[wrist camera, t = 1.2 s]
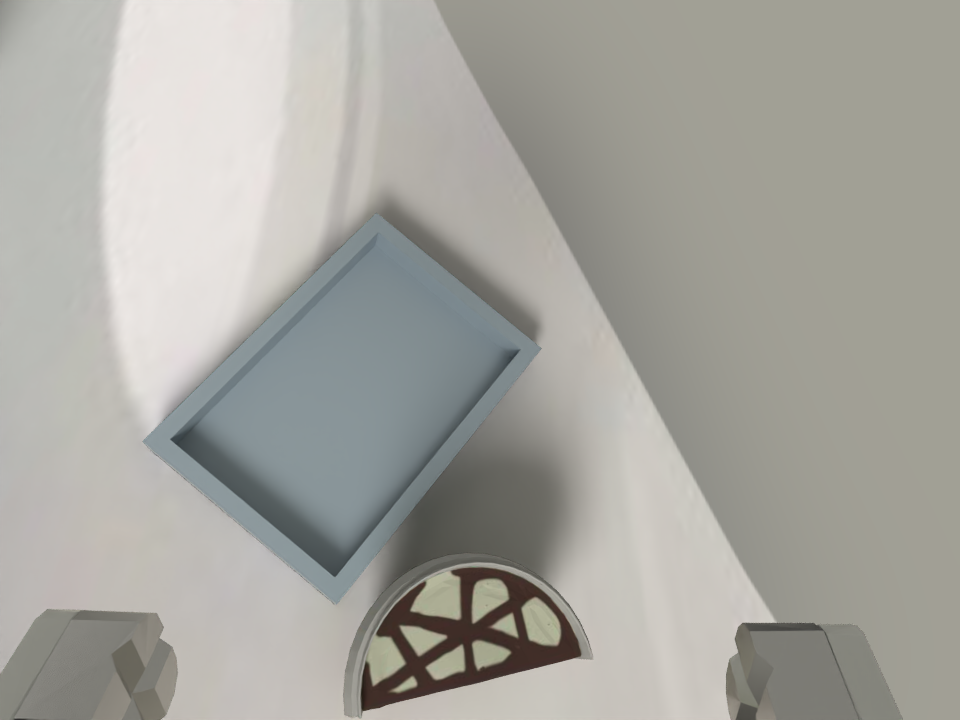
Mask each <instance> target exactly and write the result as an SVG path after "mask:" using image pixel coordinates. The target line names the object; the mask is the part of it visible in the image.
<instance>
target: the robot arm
mask: <svg viewBox="0 0 960 720" xmlns="http://www.w3.org/2000/svg"><path fill="white" fill-rule="evenodd" d="M163 628H164V627H163V625H162V623H161V620H160V618H159V616H158V614H157V613H145V612H117V611H89V610H61V609H47V610H46V611H45V612H44V613H42V614H41V615H40V616H39V617H37V618H36V619H35V621H34V622H33V624H32V625H31V627H30V628H29V630H28V632H27V633H26V635H25V636H24V638H23V639H22V641H21V643H20V644H19V646H18V647H17V649H16V650H15V652H14V654H13V655H12V657H11V658H10V660H9V661H8V663H7V665H6V666H5V668H4V669H3V671H2V673H1V674H0V720H161V719H162V718H163V717H164V716H165V715H166V714H167V712H168V709H169V706H170V704H171V701H172V699H173V696H174V693H175V687H176V681H177V675H178V669H177V659H176V656H175V653H174V650H173V648H172V647H171V646H170V645H169V644H167V643H166V642H164V641H163V640H161V639H160V638H159V637H160V635H161V633H162V631H163ZM735 641H736V645H737V649H738V653H737V654H736V655H734V656H733V657H732V658H730V659H729V663H728V668H727V673H726V696H727V703H728V710H729V714H730V719H731V720H903V718H902V716H901V714H900V712H899V709H898V707H897V705H896V703H895V701H894V699H893V696H892V694H891V692H890V690H889V687H888V685H887V683H886V681H885V678H884V676H883V674H882V672H881V670H880V668H879V665H878V663H877V661H876V659H875V656H874V654H873V652H872V650H871V648H870V645H869V643H868V641H867V639H866V636H865V634H864V633H863V631H862V630H860V628H859V627H858V626H856V625H851V624H847V625H846V624H845V625H844V624H843V625H841V624H840V625H839V624H838V625H836V624H835V625H816V624H814V623H742V624H741V625H740V626H739V627H738V630H737V633H736V637H735Z"/></svg>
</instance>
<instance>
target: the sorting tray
mask: <svg viewBox="0 0 960 720" xmlns="http://www.w3.org/2000/svg"><path fill="white" fill-rule="evenodd" d="M541 349H542V348H540V347H539V346H538V345H537V344H536V343H534V342H533V341H532V340H531V339H530V338H528V337H527V336H526V335H525V334H523V333H522V332H521V331H520V330H519V329H517V328H516V327H515V326H514V325H512V324H511V323H510V322H509V321H508V320H506V319H505V318H504V317H503V316H502V315H500V314H499V313H498V312H497V311H495V310H494V309H493V308H492V307H491V306H489V305H488V304H487V303H486V302H485V301H483V300H482V299H481V298H480V297H478V296H477V295H476V294H475V293H474V292H472V291H471V290H470V289H469V288H467V287H466V286H465V285H464V284H463V283H461V282H460V281H459V280H458V279H457V278H455V277H454V276H453V275H452V274H450V273H449V272H448V271H447V270H446V269H444V268H443V267H442V266H441V265H440V264H438V263H437V262H436V261H435V260H433V259H432V258H431V257H430V256H429V255H427V254H426V253H425V252H424V251H422V250H421V249H420V248H419V247H418V246H416V245H415V244H414V243H413V242H412V241H410V240H409V239H408V238H407V237H405V236H404V235H403V234H402V233H401V232H399V231H398V230H397V229H396V228H395V227H393V226H392V225H391V224H390V223H388V222H387V221H386V220H385V219H384V218H382V217H381V216H380V215H379V214H377V213H376V214H375V215H374V216H372V217H371V218H370V219H369V220H368V221H367V222H366V223H365V224H364V225H363V226H362V227H361V228H360V229H359V230H358V231H357V232H356V233H355V234H354V235H353V236H352V237H351V238H350V239H349V240H348V241H347V242H346V243H345V244H344V245H343V246H342V247H341V248H340V249H339V250H338V251H337V252H336V253H335V254H334V255H333V256H332V257H331V258H330V259H328V260H327V261H326V262H325V263H324V264H323V265H322V266H321V267H320V268H319V269H318V270H317V271H316V272H315V273H314V274H313V275H312V276H311V277H310V278H309V279H308V280H307V281H306V282H305V283H304V284H303V285H302V286H301V287H300V288H299V289H298V290H297V291H296V292H295V293H294V294H293V295H292V296H291V297H290V298H289V299H288V300H287V301H286V302H285V303H283V304H282V305H281V306H280V307H279V308H278V309H277V310H276V311H275V312H274V313H273V314H272V315H271V316H270V317H269V318H268V319H267V320H266V321H265V322H264V323H263V324H262V325H261V326H260V327H259V328H258V329H257V330H256V331H255V332H254V333H253V334H252V335H251V336H250V337H249V338H248V339H247V340H246V341H245V342H244V343H243V344H242V345H241V346H239V347H238V348H237V349H236V350H235V351H234V352H233V353H232V354H231V355H230V356H229V357H228V358H227V359H226V360H225V361H224V362H223V363H222V364H221V365H220V366H219V367H218V368H217V369H216V370H215V371H214V372H213V373H212V374H211V375H210V376H209V377H208V378H207V379H206V380H205V381H204V382H203V383H202V384H201V385H200V386H199V387H198V388H197V389H195V390H194V391H193V392H192V393H191V394H190V395H189V396H188V397H187V398H186V399H185V400H184V401H183V402H182V403H181V404H180V405H179V406H178V407H177V408H176V409H175V410H174V411H173V412H172V413H171V414H170V415H169V416H168V417H167V418H166V419H165V420H164V421H163V422H162V423H161V424H160V425H159V426H158V427H157V428H156V429H155V430H154V431H153V432H151V433H150V434H149V435H148V436H147V437H146V438H145V439H144V440H143V443H144V444H145V445H146V446H147V447H148V448H149V449H150V450H151V451H152V452H153V453H154V454H156V455H157V456H158V457H159V458H160V459H161V460H163V461H164V462H165V463H166V464H167V465H169V466H170V467H171V468H172V469H173V470H175V471H176V472H177V473H178V474H179V475H181V476H182V477H183V478H184V479H185V480H187V481H188V482H189V483H190V484H191V485H193V486H194V487H195V488H196V489H197V490H199V491H200V492H201V493H202V494H203V495H204V496H206V497H207V498H208V499H209V500H210V501H212V502H213V503H214V504H215V505H216V506H218V507H219V508H220V509H221V510H222V511H224V512H225V513H226V514H227V515H228V516H230V517H231V518H232V519H233V520H234V521H236V522H237V523H238V524H239V525H240V526H241V527H243V528H244V529H245V530H246V531H247V532H249V533H250V534H251V535H252V536H253V537H255V538H256V539H257V540H258V541H259V542H261V543H262V544H263V545H264V546H265V547H267V548H268V549H269V550H270V551H271V552H273V553H274V554H275V555H276V556H277V557H279V558H280V559H281V560H282V561H283V562H284V563H286V564H287V565H288V566H289V567H290V568H292V569H293V570H294V571H295V572H296V573H298V574H299V575H300V576H301V577H302V578H304V579H305V580H306V581H307V582H308V583H310V584H311V585H312V586H313V587H314V588H316V589H317V590H318V591H319V592H320V593H322V594H323V595H324V596H325V597H326V598H327V599H329V600H330V601H331V602H332V603H333V604H337V603H338V602H339V601H340V600H341V598H342V597H343V596H344V595H345V593H346V592H347V591H348V590H349V588H350V587H351V586H352V585H353V583H354V582H355V581H356V580H357V578H358V577H359V576H360V575H361V573H362V572H363V571H364V570H365V568H366V567H367V566H368V565H369V563H370V562H371V561H372V560H373V558H374V557H375V556H376V555H377V553H378V552H379V551H380V550H381V548H382V547H383V546H384V545H385V543H386V542H387V541H388V540H389V538H390V537H391V536H392V535H393V533H394V532H395V531H396V530H397V528H398V527H399V526H400V525H401V523H402V522H403V521H404V520H405V518H406V517H407V516H408V515H409V513H410V512H411V511H412V510H413V508H414V507H415V506H416V505H417V503H418V502H419V501H420V500H421V498H422V497H423V496H424V495H425V494H426V492H427V491H428V490H429V489H430V487H431V486H432V485H433V484H434V482H435V481H436V480H437V479H438V477H439V476H440V475H441V474H442V472H443V471H444V470H445V469H446V467H447V466H448V465H449V464H450V462H451V461H452V460H453V459H454V457H455V456H456V455H457V454H458V452H459V451H460V450H461V449H462V447H463V446H464V445H465V444H466V442H467V441H468V440H469V439H470V437H471V436H472V435H473V434H474V432H475V431H476V430H477V429H478V427H479V426H480V425H481V424H482V422H483V421H484V420H485V419H486V417H487V416H488V415H489V414H490V412H491V411H492V410H493V409H494V407H495V406H496V405H497V404H498V402H499V401H500V400H501V399H502V397H503V396H504V395H505V394H506V392H507V391H508V390H509V389H510V387H511V386H512V385H513V384H514V382H515V381H516V380H517V379H518V377H519V376H520V375H521V374H522V372H523V371H524V370H525V369H526V367H527V366H528V365H529V364H530V362H531V361H532V360H533V359H534V357H535V356H536V355H537V354H538V352H539V351H540V350H541Z"/></svg>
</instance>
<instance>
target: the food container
mask: <svg viewBox="0 0 960 720" xmlns="http://www.w3.org/2000/svg"><path fill="white" fill-rule="evenodd" d="M573 658H577V659H591V660H592V659H593V654H592V651H591V648H590V644H589V641H588V638H587V636H586V634H585V632H584V629H583V627H582V625H581V623H580V621H579V619H578V618H577V616H576V615H575V613H574V611H573V610H572V608H571V607H570V605H569V604H568V603H567V602H566V601H565V599H564V598H563V597H562V596H561V595H560V594H559V592H558V591H557V590H556V589H554V588H553V587H552V586H551V585H550V584H549V583H547V582H546V581H545V580H544V579H543V578H541V577H540V576H538V575H537V574H535V573H534V572H532V571H530V570H529V569H527V568H525V567H524V566H522V565H520V564H518V563H515V562H513V561H510V560H508V559H505V558H502V557H498V556H493V555H489V554H481V553H461V554H452V555H447V556H443V557H440V558H436V559H433V560H430V561H428V562H425V563H423V564H421V565H419V566H417V567H415V568H413V569H411V570H410V571H408V572H407V573H406V574H404V575H403V576H401V577H400V578H398V579H397V580H396V581H395V582H394V583H392V584H391V585H390V586H389V587H388V588H387V589H386V590H385V591H384V592H383V593H382V594H381V595H380V596H379V598H378V599H377V600H376V602H375V603H374V604H373V606H372V607H371V608H370V609H369V611H368V612H367V614H366V616H365V618H364V620H363V621H362V623H361V625H360V627H359V628H358V631H357V633H356V636H355V638H354V641H353V644H352V646H351V649H350V652H349V657H348V661H347V666H346V670H345V679H344V692H343V698H344V714H345V715H346V716H349V717H352V718H353V717H357V716H358V717H359V718H361V717H362V712H363V711H366V710H370V709H376V708H380V707H383V706H385V705H389V704H392V703H396V702H400V701H404V700H408V699H413V698H417V697H421V696H425V695H429V694H433V693H437V692H441V691H445V690H449V689H454V688H458V687H462V686H467V685H471V684H475V683H480V682H483V681H487V680H491V679H494V678H498V677H502V676H506V675H510V674H514V673H518V672H522V671H526V670H530V669H534V668H538V667H542V666H546V665H550V664H554V663H558V662H562V661H565V660H569V659H573Z"/></svg>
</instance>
